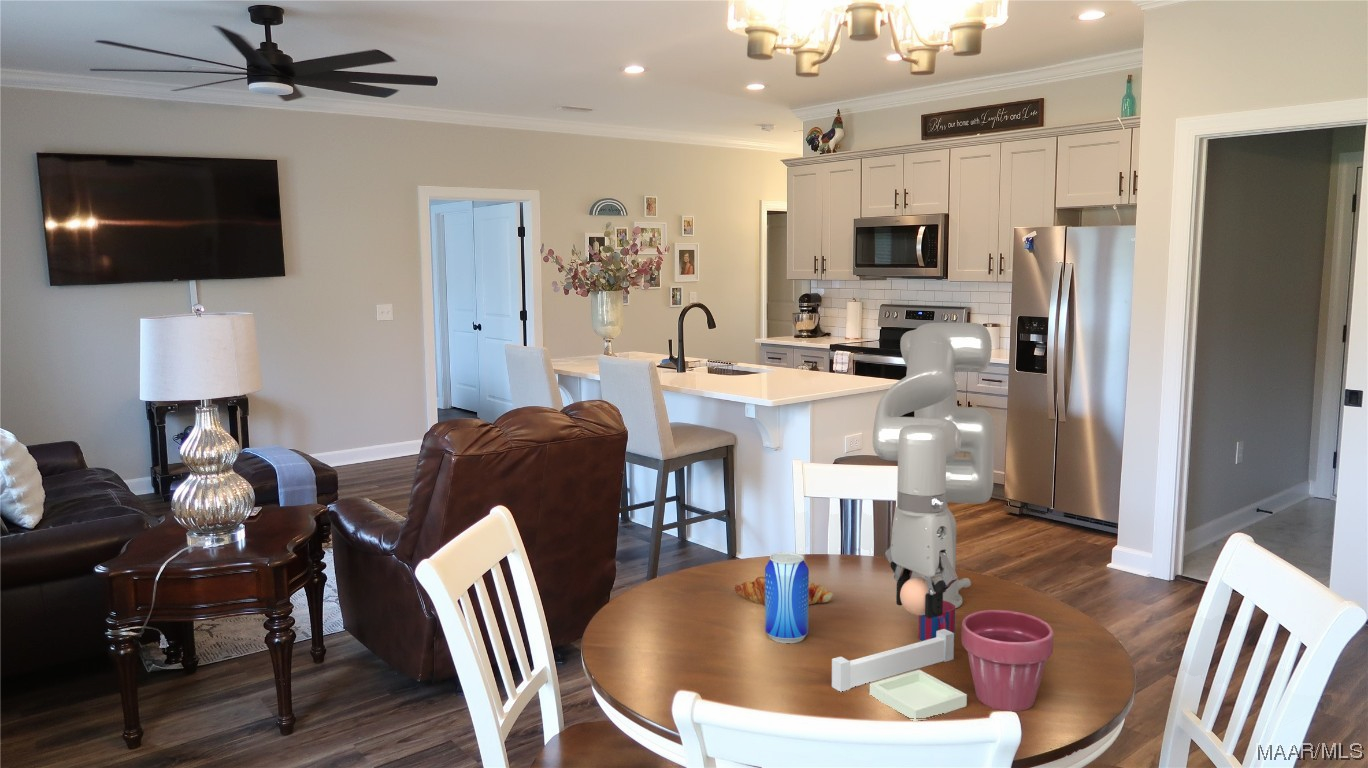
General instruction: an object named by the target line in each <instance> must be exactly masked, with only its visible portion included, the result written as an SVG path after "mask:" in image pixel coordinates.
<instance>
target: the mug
mask: <svg viewBox="0 0 1368 768" xmlns="http://www.w3.org/2000/svg"><path fill="white" fill-rule="evenodd" d="M942 629H946V630H948V631H950V632H952V633H954V642H955V636H956V633H955V632H956V608H955V605H953V604H952V603H950V602H947V601H943V613H942V615H941V616H937V617H933V618H926V616H925V615H918V639H919V640H921V641H925V640H929V639H932V638H936V631H938V630H942ZM921 641H920V642H921Z"/></svg>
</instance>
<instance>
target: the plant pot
mask: <svg viewBox="0 0 1368 768" xmlns="http://www.w3.org/2000/svg"><path fill="white" fill-rule="evenodd" d="M961 644H962V646H963V648H964V649H965V650H966V651H967V655H968V661H969V667H970V671H971V675H972V680H973V685H974V690H975V695H976V698H977V700H978V701H979V702H981V703H982V704H983V705H985V706H987V707H989V708H992V709H995V710H999V711H1005V712H1020V711H1026V710H1028V709H1030V708H1032V706H1034V704H1035V701H1036V697H1037V694H1038V691H1039V687H1040V684H1041V680H1042V677H1043V674H1044V669H1045V666H1046V662H1047V660H1049V659H1050V658H1051V656H1053V651H1054V630H1053V628H1052V627H1051V625H1050V624H1049V623H1048V622H1046V621H1044V620H1042V619H1041V618H1039V617H1037V616H1033V615H1031V614H1028V613H1023V612H1018V611H1014V610H1005V609H988V610H987V609H986V610H980V611H975V612H971V613H969V614H968V615H966V616H965V617H964V618H963V619H962V622H961Z"/></svg>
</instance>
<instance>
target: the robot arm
mask: <svg viewBox="0 0 1368 768" xmlns="http://www.w3.org/2000/svg"><path fill="white" fill-rule="evenodd" d="M991 338H992V337H991V334H990V331H989V329H987V327H986V326H985V325H983V324H981V323H976V322H929V323H924V324H921V325H919V326H918V327H917V328H915V329H913V330H909V331H906V332H905V333H903V334H902V336H901V337H900V342H899V343H900V344H899V345H900V352H901V356H902V360H903V361H904V365H905V366H906V376H904V377H903V378H901V379H899V380H898V381H896V383H894V384H893V385H892V386H891V387H890V388H889V389H888V390H887V391H885V392H884V393H883V395H882V396H881V398H880V399H879V402H877V403H878V404H877V407H876V411H875V417H874V423H873V431H872V447H873V450H874V452H875V454H876V456H877V457H879V458H880V459H882V460H885V461H892V462H897V492H896V493H897V494H896V495H897V496H896V502H897V503H896V506H895V509H894V514H893V520H892V527H891V528H892V529H891V537H890V538H891V539H890V541H891V542H890V546H889V547H888V549H887V550H885V557H886V559H887V561H888V563H889V564H890V565H889V566H890V569H891V570H892V572H893V574H894V575H893V579H894V580H895V581H896V601H895V602H896V605H898V606H903V605H902V603H901V599H900V591H901V588H902V586H903V585H904V583H905V582H906V581H908V580H910V579H912V578H917V577H919V578H924V579H926V583H927V588H928V592H929V593H927V594H926V595H925V616H926V618H933V617H937V616H941V615H942V613H943V601H947V602H950V603H952V604H953V605H955V609H957V608H959V607H961V605H962V604H963V597H962V595H961V594H959V591H961V589H965V588H968V587H971V585H972V582H971V579H969V578H968V577H964V578H959V577H958V575H957V573H956V559H957V557H956V555H957V553H956V551H957V522H956V518H955V517H954V515H953V513H952V512H951V510H950V509H949V508H948V507H949V504H948V503H954V504H955V503H956V504H957V503H958V504H976V505H977V504H978V505H979V504H985V503H987V502H989V500H991V497H992V496H993V495H992V494H993V489H994V475H995V474H994V471H995V470H994V468H995V424H994V419H993V417H992V414H991V412H989V411H988V410H986V409H985V408H981V407H976V406H974V407H972V406H971V407H970V406H959V405H958V402H957V401H958V384H957V381H956V379H955V377H956V375H955V374H956V373H955V372H958V373H960V372H961V373H962V372H963V373H982V372H984V371H985V370H986V369H987V368H988V367H989V365H990V362H991V359H992V349H993V345H992V339H991ZM912 412H914V414H913V415H914V416H904V415H906V414H909V413H912ZM959 453H962V454H968V455H969V456H970V457H962V456H961V457H959V456H956V455H959Z"/></svg>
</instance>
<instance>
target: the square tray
mask: <svg viewBox="0 0 1368 768" xmlns="http://www.w3.org/2000/svg"><path fill="white" fill-rule="evenodd" d="M870 695H872V696H873V697H875V698H876V699H875V698H874V699H875V700H877V699H878V700H879V702H880V701H881V702H880V703H882V704H883V703H884V705H885V704H886V705H885V706H887V705H888V706H890V707H892V708H893V709H895V710H897V711H898V712H900V713H902V714H904V715H905V716H907V717H909V718H914V719H909V720H910V721H912V720H913V721H918V720H923V721H926V720H927V719H916V718H926V717H930V716H933V715H938V714H941V715H943V714H942V713H944V714H948V713H950V712H953V711H956V710H959V709H962V708H965V707H967V703H968V702H967V701H968V700H967V697H968V694H967V693H964V692H963V691H961V690H959V689H956V688H955V687H953V686H952V685H950V684H948V683H946V682H943V681H941V680H940V679H938V678H936V677H934V676H932V675H931V674H928V673H927V672H925V671H923V670H921V669H915V670H911V671H908V672H904V673H901V674H897V675H894V676H890V677H887V678H884V679H880V680H877V681H873V682H870V683H869V696H870ZM872 696H871V697H872ZM873 697H872V698H873ZM878 700H877V701H878ZM888 706H887V707H888ZM890 707H889V708H890ZM892 708H891V709H892ZM893 709H892V710H893ZM895 710H894V711H895ZM897 711H896V712H897ZM898 712H897V713H898ZM900 713H899V714H900ZM902 714H901V715H902ZM905 716H904V717H905ZM938 716H939V715H938ZM907 717H906V718H907ZM913 721H912V722H913Z"/></svg>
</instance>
